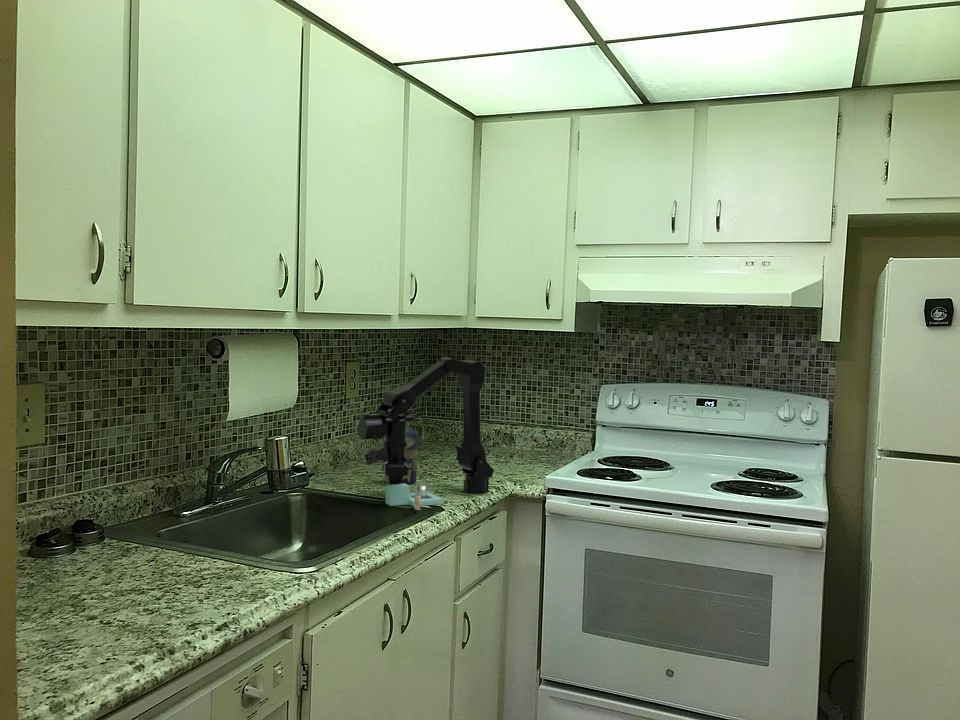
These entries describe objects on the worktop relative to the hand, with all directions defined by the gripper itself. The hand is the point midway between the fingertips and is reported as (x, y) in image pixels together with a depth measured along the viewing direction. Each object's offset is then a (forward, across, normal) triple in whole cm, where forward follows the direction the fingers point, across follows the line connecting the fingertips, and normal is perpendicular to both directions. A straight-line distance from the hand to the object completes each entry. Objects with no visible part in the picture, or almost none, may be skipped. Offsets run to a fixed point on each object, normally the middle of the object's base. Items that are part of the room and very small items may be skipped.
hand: (393, 493), depth 210 cm
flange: (+2, +2, +5) cm, 6 cm away
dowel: (+2, +10, +6) cm, 11 cm away
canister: (+4, -25, +4) cm, 26 cm away
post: (+2, +1, +8) cm, 8 cm away
